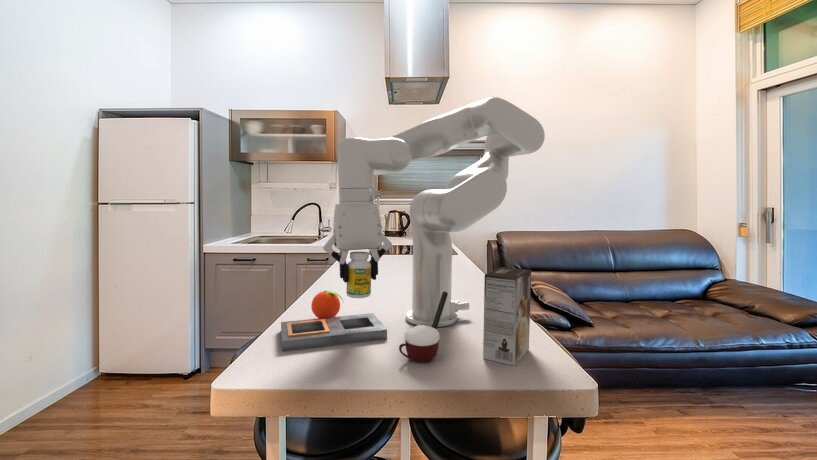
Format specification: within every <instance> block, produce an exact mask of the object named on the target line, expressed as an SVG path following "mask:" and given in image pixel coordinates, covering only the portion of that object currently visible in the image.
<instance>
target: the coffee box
mask: <svg viewBox="0 0 817 460" xmlns="http://www.w3.org/2000/svg"><path fill="white" fill-rule="evenodd" d="M532 272H533V271H532V269H525V268H514V267H505V266H503V267H502V266H500V267H498V268H496V269H494V270H492V271H489V272H487V273H485V274H484V289H483V293H484V295H483V300H484V301H483V302H484V303H483V339H482V340H483V341H482V344H483V345H482V346H483V347H482V349H483V352H482V354H483V355H482V358H483V359H484V360H488V361H492V362H497V363H500V364H505V365H508V366H509V365H510V366H514V367H515V366H517V365H518V363H520V361H521V360H522V359H523V357H524V356H525V355H526V353H527V352H528V351H529V350H530V326H531V325H530V323H531V319H530V318H531V293H532V292H531V290H532Z"/></svg>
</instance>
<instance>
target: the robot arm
mask: <svg viewBox="0 0 817 460" xmlns="http://www.w3.org/2000/svg"><path fill="white" fill-rule="evenodd" d="M483 137H485V143H484V152H483V157H482V158H480V159H479V160H478V161H477V162H475V163H473V164H472V165H470V166H469V167H467V168H465V169H463V170H461V171H460V172H458V173H457V174H454V175H453V176H452V177H451V179H450V180H449V181H448V182H447V184H446V187H445V189H444V188H443V189H441V188H440V189H439V188H438V189H426V190H423V191H421V192H419V193H418V194H416V195H415V196H414V197H413V198H412V201H411V202H410V205H409V220H410V225H411V226H410V227H411V235H412V292H411V293H412V299H411V300H412V302H411V303H412V304H411V305H412V306H411V307H412V309H411V310H408V311H407V312H406V313H405V320H406V321H407V322H408V323H410V324H413V325H415V326H418V325H425V326H430V327H432V324H433V321H434V318H435V315H436V312H437V308H438V305H439V302H440V299H441V296H442V293H443V292H444V291H445V292H447V293H448V296H447V299H446V302H445V305H444V308H443V311H442V314H441V317H440V321H439V324H438V327H437V328H441V327H447V326H451V325H453V324H455V323H457V321H458V314H457V312H459V311H468V310H470V303H469V302H468V301H464V302H460V301H459V300H455V301H454V300H453V299H452V281H453V279H452V278H453V276H452V274H453V273H452V269H453V243H452V239H451V235H450V233H459V232H462V231H464V230H467V229H468V228H470V227H472V226H473V225H474V224H476V223H478V221H481V220H482V219H484V218H485V217H487V216H488V215H489V214H490V213H492V212H493V211H495V210H496V209H498V207H499V206H500V205H501V204H502V203H503V201H504V200H505V198H506V195H507V191H508V183H507V179H508V176H509V164H510V163H509V159H510V157H515V156H524V155H529V154H533V153H535V152H537V151H538V150H540V149H541V148H542V146H543V144H544V142H545V139H546V137H545V129H544V128H543V125H542V123H540V121H539V120H538V119H537V118H535V117H534V116H532V115H531V114H530V113H528V112H526V111H525V110H523V109H521V107H518V106H516V105H515V104H513V103H512V102H509V100H506V99H504V98H500V97H498V96H492V97H491V96H490V97H488V98H485V99H482V100H479V101H476V102H473V103H470V104H467V105H465V106H462V107H459V108H457V109H454V110H452V111H449V112H447V113H444V114H441V115H439V116H436V117H433V118H431V119H428V120H425V121H424V122H423V121H422V123H419V124H417V125H415V126H413V127H411V128H409V129H405V130H403V131H401V132H399V133H396V134H394V135H391V136H388V137H386V138H379V139H378V138H377V139H369V138H365V137H346V138H342V139H340V140H339V141H338V143H337V172H338V175H337V176H338V199H339V203H335V205H334V212H333V226H332V230H333V231H332V232H333V233H332V235H331V237H330V238H329V239H328V240H327V241H326V243H325V244H324V245H323V247H322V249H323V250H324V252H326V253H327V254H329V255H330V256H331V257H333V259H335V260H336V261H337V262H338V263H339V278H340V279H342V281H343V282H344V283H345V284H347V282H348V262H347V258H348V254H349V251H363V250H368V253H369V256H370V259H369V260H368V261H369V262H370V263H371V280H373V281H376V280H377V276H378V275H379V261H380V259H381V258H382V257H383V255H385V253H386V252H387V251H388V250H390V248H391V247H392V246H393V243H392V242H391V241H390V240H389V238H387V237H386V235H385V234H384V233H383V232H382V230H383V229H382V222H381V221H382V220H381V215H380V210H379V205H378V202H375V201H376V199H378V198H381V197H382V196H381V195H382V194H381V191H377V190H376V188H375V176H381V175H390V174H391V175H392V174H397V173H400V172H402V171H404V170H406V169H407V168H408V167H409V165H410V163H412V162H415V161H419V160H422V159H428V158H432V157H435V156H438V155H442V154H443V155H444V154H445V153H447V152H450V151H452V150H454V149H457V148H459V147H461V146H463V145H466V144H468V143H471V142H473V141H476V140H478V139H480V138H483ZM333 246H334V247H335V248H336V249H338V250H339V253H338V252H336V251H335V250H334V249H333Z"/></svg>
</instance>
